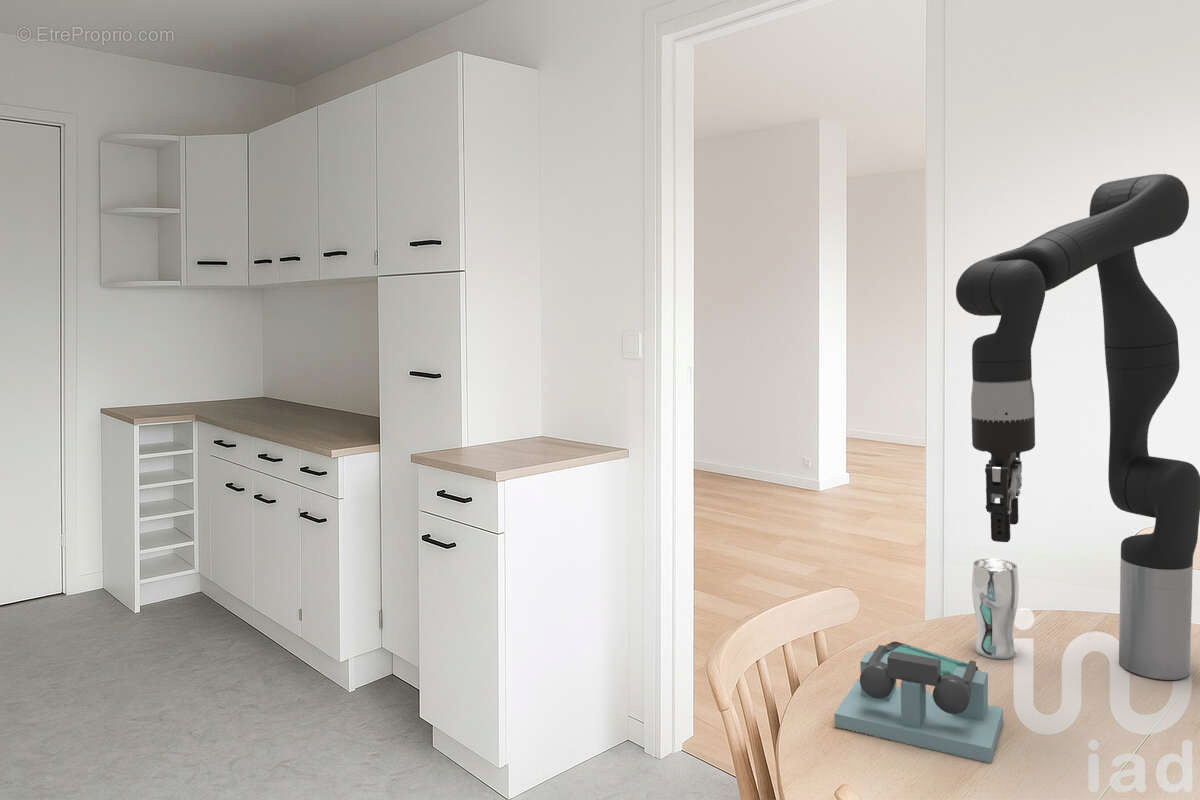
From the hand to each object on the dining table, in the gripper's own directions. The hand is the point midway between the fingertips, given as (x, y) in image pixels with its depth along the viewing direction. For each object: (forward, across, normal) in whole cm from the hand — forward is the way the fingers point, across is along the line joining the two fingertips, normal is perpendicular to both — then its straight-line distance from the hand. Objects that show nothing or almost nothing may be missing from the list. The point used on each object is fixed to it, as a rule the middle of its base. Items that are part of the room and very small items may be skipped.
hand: (1005, 532), depth 111 cm
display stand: (+27, -6, +11) cm, 30 cm away
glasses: (+23, -5, +11) cm, 25 cm away
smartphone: (+28, +14, +14) cm, 35 cm away
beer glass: (+28, +24, +5) cm, 38 cm away
